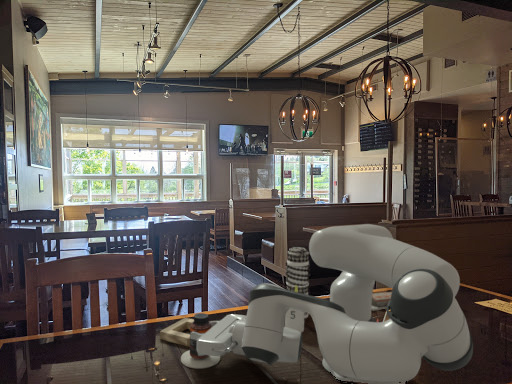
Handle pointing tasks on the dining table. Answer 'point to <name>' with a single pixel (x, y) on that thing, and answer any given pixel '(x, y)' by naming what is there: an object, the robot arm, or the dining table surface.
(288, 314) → the candle
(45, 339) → the dining table surface
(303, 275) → the decorative candle
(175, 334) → the square frame
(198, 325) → the supplement bottle
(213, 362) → the coaster
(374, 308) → the packaged product
